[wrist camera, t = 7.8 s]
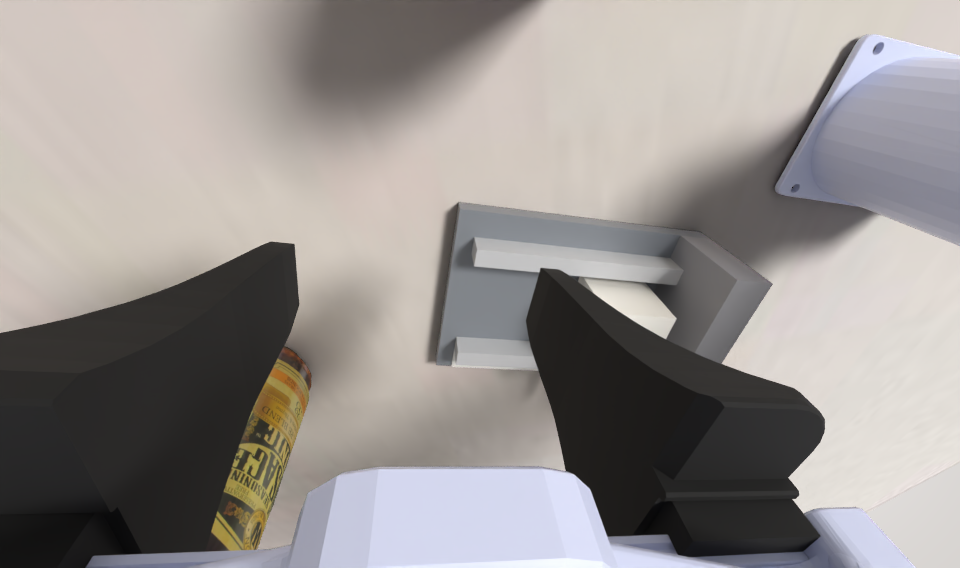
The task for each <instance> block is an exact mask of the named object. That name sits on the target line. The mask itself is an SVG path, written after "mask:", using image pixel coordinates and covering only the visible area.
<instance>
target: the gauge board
mask: <svg viewBox="0 0 960 568" xmlns="http://www.w3.org/2000/svg"><path fill="white" fill-rule="evenodd" d="M540 268H549V269H559V270H561V271H563V272H565V273H566V274H568V275H569V276H571V277H572V278H573V279H575V280H576V281H578V280H579V277H580V276H582V277H592V278H603V279H614V280H624V281H635V282H645V283H646V284H647V285H648V287H649V288H650V289H651V290H652V291H653V292H654V293H655V295H656V296H657V297H658V298H659V299H660V300H661V301H662V302H663V304H664V305H665V306H666V307H667V308H668V309H669V310H670V312H671V313H672V314H673V315H674V316H675V317H676V318H677V319H676V321H675V323H674V325H673V327H672V328H671V330H670V332H669V334H668V336H667V338H666V340H668V341H670V342H672V343H674V344H676V345H679V346H681V347H683V348H685V349H687V350H689V351H692V352H694V353H696V354H698V355H700V356H703V357H705V358H708V359H710V360H712V361H715V362H717V363H720V364H721V363H722V362H723V360H724V359H725V357H726V356H727V354H728V353H729V351H730V349H731V348H732V346H733V345H734V343H735V342H736V340H737V339H738V337H739V335H740V334H741V332H742V331H743V329H744V328H745V326H746V325H747V323H748V321H749V320H750V318H751V317H752V315H753V314H754V312H755V311H756V309H757V307H758V306H759V304H760V303H761V301H762V300H763V298H764V297H765V295H766V294H767V292H768V290H769V289H770V287H771V286H772V283H771V282H770V281H768V280H767V279H765V278H764V277H763V276H761V275H760V274H759V273H757V272H756V271H754V270H753V269H752V268H750V267H749V266H747V265H746V264H745V263H743V262H742V261H740V260H739V259H738V258H736V257H735V256H733V255H732V254H731V253H729V252H728V251H727V250H725V249H724V248H722V247H721V246H720V245H718V244H717V243H715V242H714V241H713V240H711V239H710V238H708V237H707V236H706V235H704V234H703V233H701V232H696V231H688V230H680V229H672V228H664V227H656V226H648V225H640V224H632V223H624V222H616V221H607V220H599V219H591V218H583V217H575V216H567V215H559V214H551V213H543V212H535V211H526V210H518V209H510V208H502V207H494V206H486V205H478V204H470V203H462V202H459V204H458V211H457V217H456V224H455V231H454V238H453V244H452V251H451V258H450V264H449V271H448V278H447V285H446V291H445V298H444V305H443V312H442V318H441V325H440V332H439V338H438V345H437V352H436V365H445V366H451V367H466V368H488V369H510V370H532V371H538V368H537V365H536V362H535V359H534V356H533V353H532V350H531V347H530V342H529V337H528V331H527V325H526V318H527V314H528V311H529V307H530V304H531V300H532V297H533V293H534V290H535V286H536V283H537V279H538V275H539V272H540Z"/></svg>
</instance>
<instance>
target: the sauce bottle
mask: <svg viewBox="0 0 960 568" xmlns="http://www.w3.org/2000/svg"><path fill="white" fill-rule="evenodd" d="M310 388H311V373H310V372H309V369H308V367H307V366H306V364H305V363H304V362H303V361H302V359H300V358H299V357H298V355H297V354H296V353H295V352H293V351H292V350H291V349H289V348H286V347H285V346H284V347H283V349H282V351H281V353H280V355H279V357H278V359H277V361H276V363H275V365H274V367H273V369H272V371H271V373H270V374H269V376H268V378H267V380H266V382H265V384H264V386H263V388H262V390H261V392H260V394H259V396H258V398H257V401H256V403H255V405H254V407H253V410H252V412H251V415H250V417H249V420H248V423H247V426H246V428H245V431H244V434H243V437H242V439H241V442H240V445H239V448H238V451H237V453H236V456H235V459H234V462H233V465H232V468H231V471H230V474H229V477H228V480H227V483H226V486H225V489H224V492H223V496H222V499H221V502H220V505H219V508H218V512H217V515H216V518H215V521H214V524H213V527H212V531H211V534H210V538H209V541H208V545H207V548H206V552H210V551H237V550H257V548H258V545H259V543H260V540H261V537H262V534H263V531H264V528H265V525H266V522H267V520H268V517H269V514H270V512H271V509H272V507H273V505H274V501H275V498H276V495H277V492H278V489H279V486H280V483H281V480H282V477H283V474H284V471H285V468H286V466H287V463H288V460H289V456H290V453H291V451H292V448H293V445H294V442H295V439H296V436H297V433H298V430H299V428H300V425H301V422H302V419H303V416H304V413H305V410H306V407H307V404H308V400H309V390H310Z"/></svg>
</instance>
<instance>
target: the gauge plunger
mask: <svg viewBox="0 0 960 568" xmlns="http://www.w3.org/2000/svg"><path fill="white" fill-rule="evenodd" d="M578 282H579V283H580V284H582V285H583V286H584V287H586V288H587V289H588V290H590V291H591V292H592V293H594V294H595V295H596V296H598V297H599V298H601V299H602V300H603V301H605V302H606V303H608V304H609V305H610V306H612V307H613V308H615V309H616V310H618V311H619V312H621V313H622V314H624V315H625V316H627V317H628V318H630V319H631V320H633V321H634V322H636V323H638V324H639V325H641V326H643V327H645V328H646V329H648V330H650V331H652V332H654V333H655V334H657V335H659V336H661V337H663V338H664V339H666V338H667V336H668V334H669V332H670V330H671V328H672V327H673V325H674V323H675V321H676V319H677V318H676V317H675V316H674V315H673V314H672V313H671V312H670V310H669V309H668V308H667V307H666V306H665V305H664V304H663V302H662V301H661V300H660V299H659V298H658V297H657V296H656V295H655V293H654V292H653V291H652V290H651V289H650V288H649V287H648V285H647V284H646V283H645V282H635V281H624V280H614V279H603V278H592V277H582V276H580V277H579V280H578Z"/></svg>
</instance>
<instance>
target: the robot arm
mask: <svg viewBox="0 0 960 568" xmlns="http://www.w3.org/2000/svg"><path fill="white" fill-rule="evenodd" d="M875 46H876V48H875V50H874V51H873V49H874V47H875ZM793 186H794V187H793ZM792 187H793V188H792ZM791 188H792V189H791ZM775 191H776V193H779V194H781V195H784V196H790V197H797V198H804V199H810V200H817V201H824V202H831V203H837V204H844V205H851V206H857V207H862V208H865V209H867V210H870V211H872V212H875V213H877V214H880V215H882V216H885V217H888V218H890V219H893V220H895V221H898V222H900V223H903V224H905V225H908V226H910V227H913V228H915V229H918V230H920V231H923V232H925V233H928V234H930V235H933V236H936V237H938V238H941V239H943V240H946V241H948V242H951V243H953V244H956V245H958V246H960V55H956V54H952V53H948V52H944V51H940V50H936V49H932V48H928V47H924V46H920V45H916V44H912V43H908V42H904V41H900V40H896V39H892V38H888V37H884V36H880V35H877V34H868V35H865V36H862V37H861V38H860V39H859V40H858V41H857V43H856V44H855V46H854V47H853V49H852V51H851V53H850V54H849V56H848V58H847V60H846V62H845V63H844V65H843V67H842V69H841V70H840V72H839V74H838V76H837V77H836V79H835V81H834V83H833V85H832V86H831V88H830V90H829V92H828V93H827V95H826V97H825V99H824V101H823V102H822V104H821V106H820V108H819V109H818V111H817V113H816V115H815V116H814V118H813V120H812V122H811V124H810V125H809V127H808V129H807V131H806V132H805V134H804V136H803V138H802V140H801V141H800V143H799V145H798V147H797V148H796V150H795V152H794V154H793V155H792V157H791V159H790V161H789V163H788V164H787V166H786V168H785V170H784V171H783V173H782V175H781V177H780V179H779V180H778V182H777V184H776V186H775ZM298 307H299V297H298V284H297V271H296V258H295V245H294V244H289V243H279V242H269V243H266V244H264V245H261V246H259V247H257V248H255V249H253V250H251V251H249V252H247V253H245V254H243V255H241V256H239V257H237V258H235V259H233V260H231V261H229V262H227V263H224V264H222V265H220V266H218V267H216V268H214V269H212V270H210V271H207V272H205V273H203V274H201V275H198V276H196V277H194V278H191V279H189V280H187V281H185V282H182V283H180V284H178V285H175V286H173V287H170V288H168V289H165V290H162V291H160V292H157V293H154V294H151V295H148V296H145V297H142V298H139V299H136V300H133V301H130V302H127V303H124V304H120V305H117V306H113V307H109V308H106V309H102V310H99V311H95V312H91V313H88V314H84V315H80V316H77V317H73V318H69V319H65V320H60V321H56V322H51V323H47V324H43V325H38V326H33V327H28V328H23V329H18V330H14V331H9V332H3V333H0V568H916V567H915V566H914V565H913V564H912V563H911V562H910V560H908V558H907V557H906V556H905V555H904V554H903V553H902V552H901V551H900V550H899V549H898V548H897V546H896V545H895V544H894V543H893V542H892V541H891V540H890V539H889V538H888V537H887V535H886V534H885V533H884V532H883V531H882V530H881V529H880V528H879V527H878V526H877V525H876V524H875V522H873V520H872V519H871V518H870V517H869V516H868V515H867V514H866V513H865V512H864V510H863V509H861V508H857V507H843V508H818V509H813V510H811V511H808V512H806V513H804V514H803V512H802V511H801V510H800V509H799V507H798V506H797V505H796V504H795V502H794V501H793V500H792V499H796V498H797V497H798V496H799V491H798V489H797V488H796V487H795V486H794V484H793V483H792V482H791V481H790V480H789V478H788V477H789V476H790V475H791V474H792V473H793V472H794V471H795V470H796V469H797V468H798V467H799V466H800V464H801V463H802V462H803V461H804V460H805V459H806V458H807V457H808V456H809V455H810V454H811V453H812V452H813V451H814V449H815V448H816V447H817V445H818V444H819V443H820V441H821V439H822V436H823V434H824V430H825V419H824V417H823V416H822V414H821V413H820V411H819V410H818V409H817V408H816V407H814V406H813V405H812V404H811V403H810V402H809V401H808V400H807V399H806V398H805V397H804V396H803V395H802V394H801V393H800V392H798V391H797V390H796V389H794V388H792V387H788V386H785V385H782V384H779V383H776V382H772V381H769V380H766V379H763V378H760V377H757V376H753V375H750V374H747V373H744V372H741V371H739V370H736V369H733V368H731V367H728V366H725V365H723V364H720V363H717V362H715V361H712V360H710V359H708V358H705V357H703V356H700V355H698V354H696V353H694V352H692V351H689V350H687V349H685V348H683V347H681V346H679V345H676V344H674V343H672V342H670V341H668V340H666V339H664V338H663V337H661V336H659V335H657V334H655V333H654V332H652V331H650V330H648V329H646V328H645V327H643V326H641V325H639V324H638V323H636V322H634V321H633V320H631V319H630V318H628V317H627V316H625V315H624V314H622V313H621V312H619V311H618V310H616V309H615V308H613V307H612V306H610V305H609V304H608V303H606V302H605V301H603V300H602V299H601V298H599V297H598V296H596V295H595V294H594V293H592V292H591V291H590V290H588V289H587V288H586V287H584V286H583V285H582V284H580V283H579V282H578V281H576V280H575V279H573V278H572V277H571V276H569V275H568V274H566V273H565V272H563V271H561V270H559V269H549V268H540V272H539V275H538V279H537V283H536V286H535V290H534V293H533V297H532V300H531V304H530V307H529V311H528V314H527V318H526V325H527V331H528V337H529V342H530V347H531V350H532V353H533V356H534V359H535V362H536V365H537V368H538V371H539V373H540V376H541V379H542V382H543V385H544V388H545V391H546V393H547V396H548V399H549V402H550V405H551V408H552V411H553V415H554V418H555V422H556V427H557V431H558V436H559V440H560V445H561V449H562V454H563V459H564V464H565V469H566V471H561V470H556V469H550V468H545V467H539V466H518V467H374V468H368V469H361V470H355V471H349V472H343V473H341V474H339V475H338V476H336V477H334V478H333V479H331V480H329V481H327V482H326V483H324V484H322V485H321V486H319V487H317V488H315V489H314V490H312V491H310V492H309V493H308V494H307V497H306V499H305V502H304V504H303V507H302V509H301V512H300V514H299V518H298V522H297V525H296V529H295V533H294V537H293V541H292V544H291V545H288V546H283V547H279V548H274V549H264V550H237V551H210V552H206V548H207V545H208V541H209V538H210V534H211V531H212V527H213V524H214V521H215V518H216V515H217V512H218V508H219V505H220V502H221V499H222V496H223V492H224V489H225V486H226V483H227V480H228V477H229V474H230V471H231V468H232V465H233V462H234V459H235V456H236V453H237V451H238V448H239V445H240V442H241V439H242V437H243V434H244V431H245V428H246V426H247V423H248V420H249V417H250V415H251V412H252V410H253V407H254V405H255V403H256V401H257V398H258V396H259V394H260V392H261V390H262V388H263V386H264V384H265V382H266V380H267V378H268V376H269V374H270V373H271V371H272V369H273V367H274V365H275V363H276V361H277V359H278V357H279V355H280V353H281V351H282V349H283V347H284V345H285V343H286V341H287V338H288V336H289V334H290V332H291V329H292V326H293V323H294V320H295V316H296V313H297V310H298Z"/></svg>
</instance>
